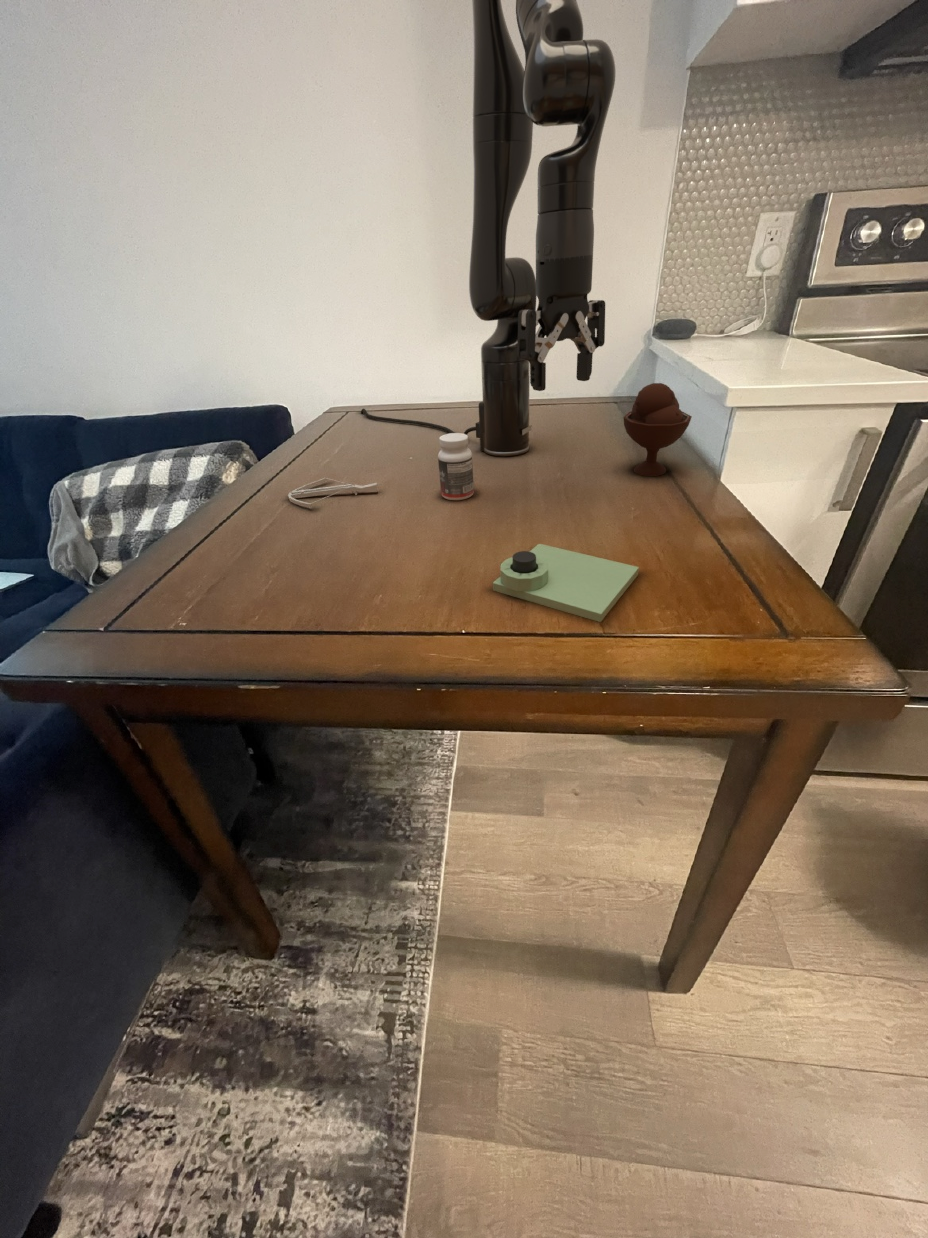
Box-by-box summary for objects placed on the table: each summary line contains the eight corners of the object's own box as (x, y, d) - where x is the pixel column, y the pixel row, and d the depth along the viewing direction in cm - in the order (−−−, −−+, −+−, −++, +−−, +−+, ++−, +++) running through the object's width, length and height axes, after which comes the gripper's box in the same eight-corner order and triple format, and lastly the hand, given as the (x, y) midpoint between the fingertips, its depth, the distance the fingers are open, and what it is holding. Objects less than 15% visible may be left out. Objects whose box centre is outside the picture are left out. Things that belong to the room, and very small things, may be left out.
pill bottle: (440, 490, 96) (435, 433, 90) (472, 487, 96) (469, 430, 91) (442, 502, 91) (437, 443, 86) (475, 499, 91) (472, 440, 86)
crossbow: (281, 516, 92) (278, 505, 91) (299, 489, 103) (296, 478, 102) (374, 505, 91) (371, 493, 90) (382, 478, 102) (380, 468, 101)
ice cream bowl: (686, 481, 93) (702, 388, 84) (618, 480, 95) (628, 389, 86) (679, 461, 101) (693, 374, 93) (617, 460, 103) (625, 376, 95)
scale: (491, 592, 67) (490, 570, 65) (538, 551, 75) (539, 531, 73) (599, 624, 60) (601, 601, 58) (638, 575, 68) (641, 553, 66)
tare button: (508, 571, 65) (508, 558, 64) (519, 561, 67) (519, 548, 66) (528, 577, 64) (529, 563, 63) (539, 566, 66) (540, 554, 65)
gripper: (584, 252, 78) (580, 375, 86) (504, 259, 72) (507, 390, 81) (624, 249, 72) (614, 380, 81) (539, 256, 66) (539, 396, 75)
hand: (561, 385), depth 81 cm, fingers open, 8 cm apart
